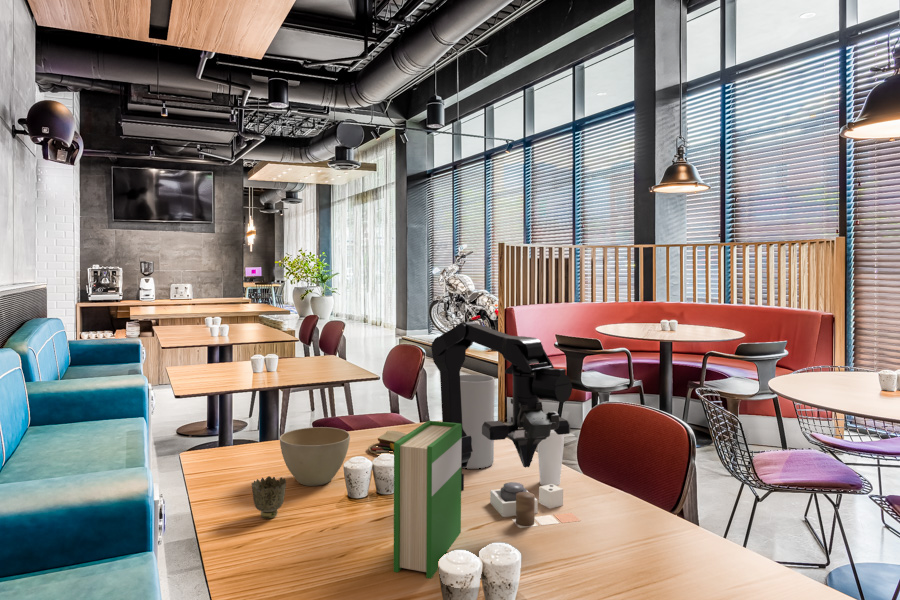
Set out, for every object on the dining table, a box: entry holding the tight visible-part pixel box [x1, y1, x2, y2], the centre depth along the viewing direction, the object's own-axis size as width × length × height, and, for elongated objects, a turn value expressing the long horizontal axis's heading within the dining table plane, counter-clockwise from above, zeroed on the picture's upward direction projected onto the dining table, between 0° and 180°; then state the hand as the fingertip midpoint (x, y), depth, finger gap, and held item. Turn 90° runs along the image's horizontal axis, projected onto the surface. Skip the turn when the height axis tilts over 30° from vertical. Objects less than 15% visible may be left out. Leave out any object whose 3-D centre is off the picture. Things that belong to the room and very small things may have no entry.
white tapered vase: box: [537, 430, 565, 486], centre depth 151 cm, size 7×7×15 cm
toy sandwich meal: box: [367, 430, 407, 455], centre depth 181 cm, size 12×14×5 cm
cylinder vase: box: [460, 374, 495, 470], centre depth 169 cm, size 12×12×25 cm
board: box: [489, 488, 581, 529], centre depth 131 cm, size 18×16×4 cm
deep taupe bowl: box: [279, 426, 351, 487], centre depth 153 cm, size 18×18×12 cm
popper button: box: [500, 481, 528, 502], centre depth 134 cm, size 6×6×5 cm
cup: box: [251, 476, 287, 520], centre depth 130 cm, size 8×7×8 cm
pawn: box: [515, 491, 536, 527], centre depth 126 cm, size 4×4×6 cm
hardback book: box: [393, 420, 462, 579], centre depth 113 cm, size 18×7×24 cm, turn 161°
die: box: [538, 484, 564, 509], centre depth 136 cm, size 4×4×4 cm
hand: (526, 466), depth 126 cm, fingers closed
